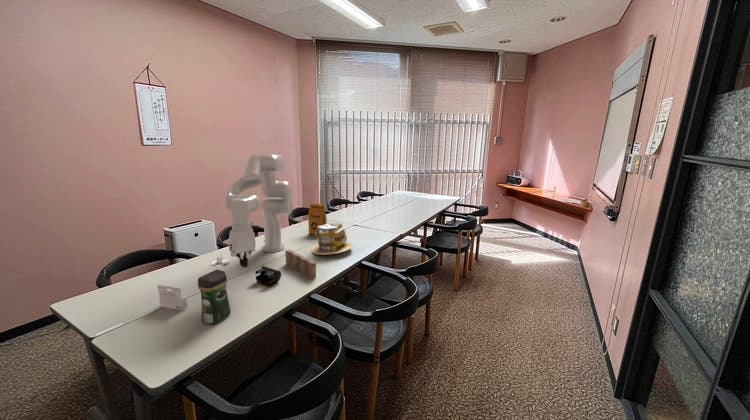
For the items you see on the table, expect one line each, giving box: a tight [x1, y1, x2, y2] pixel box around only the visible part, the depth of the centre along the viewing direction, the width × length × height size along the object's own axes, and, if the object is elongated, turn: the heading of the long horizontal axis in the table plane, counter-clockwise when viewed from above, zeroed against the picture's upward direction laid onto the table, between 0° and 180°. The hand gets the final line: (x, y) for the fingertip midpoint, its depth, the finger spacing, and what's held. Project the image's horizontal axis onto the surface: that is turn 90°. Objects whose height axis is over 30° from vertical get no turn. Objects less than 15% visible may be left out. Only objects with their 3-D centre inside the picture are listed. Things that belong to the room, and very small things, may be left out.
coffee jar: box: [197, 269, 231, 325], centre depth 117 cm, size 10×8×19 cm
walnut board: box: [285, 249, 317, 280], centre depth 160 cm, size 24×2×8 cm, turn 48°
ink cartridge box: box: [156, 284, 188, 311], centre depth 123 cm, size 2×11×10 cm, turn 77°
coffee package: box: [307, 202, 327, 236], centre depth 216 cm, size 10×12×22 cm
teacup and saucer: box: [211, 255, 230, 267], centre depth 166 cm, size 9×8×4 cm
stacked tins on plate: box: [311, 221, 354, 256], centre depth 188 cm, size 25×25×17 cm
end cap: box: [254, 265, 282, 288], centre depth 147 cm, size 10×7×7 cm
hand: (244, 266), depth 137 cm, fingers closed
